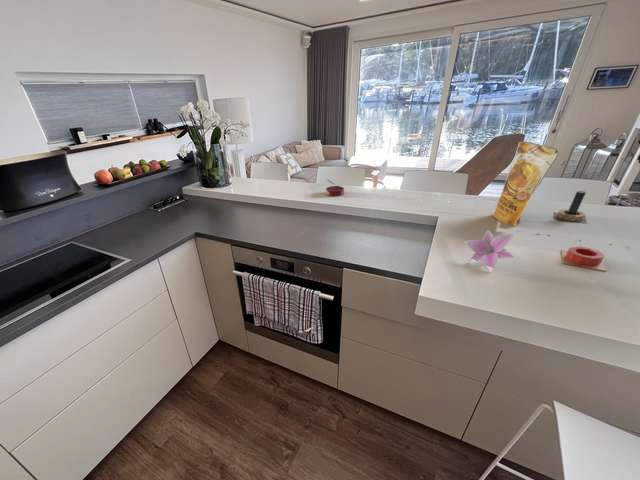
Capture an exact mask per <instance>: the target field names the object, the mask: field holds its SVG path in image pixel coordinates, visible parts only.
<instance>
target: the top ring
mask: <svg viewBox="0 0 640 480" xmlns="http://www.w3.org/2000/svg"><path fill="white" fill-rule="evenodd" d="M567 251H568V252H567V254H566V258H567V259H568V260H570V261H571V262H574V263H577V264H580V265H586V266H597V265H599V264H600V263H601V261H602V260H603V261H604V258H605V255H604V252H601V251H599V250H597V249H594V248H590V247H585V246H571V247H569V248H568V250H567Z"/></svg>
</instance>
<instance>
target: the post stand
mask: <svg viewBox="0 0 640 480" xmlns="http://www.w3.org/2000/svg"><path fill="white" fill-rule="evenodd" d="M586 193H587V192H586V191H584V190H577V191H576V192H575V195H574V196H573V199H572V201H571V203H570V206H569V208H568V209H569V210H568V212H567V214H571V215H576V213H577V211H579V209H580V207H581V204H582V202H583V200H584V198H585V196H586ZM557 214H558V212H556V211H554V212H553V220H554V221H559V222H567V223H574V224H584V225H588V221H587V218H586V216H585V217H584V219H583V220H582V221H566V220H563V219H560V218H558V217H557Z"/></svg>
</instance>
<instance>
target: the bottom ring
mask: <svg viewBox="0 0 640 480" xmlns="http://www.w3.org/2000/svg"><path fill="white" fill-rule="evenodd" d="M568 210H569V208H567V209H559V210H558V212H557V213H558V214H557V217H558V218H560V219H563V220H566V221H582V220H583V219H584V217H586V212H583V211H581V210H578V211H577V213H576V215H571V214H567V212H568ZM566 221H565V222H566Z"/></svg>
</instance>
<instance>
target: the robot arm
mask: <svg viewBox="0 0 640 480" xmlns="http://www.w3.org/2000/svg"><path fill="white" fill-rule="evenodd" d="M635 137H636V140H637V143H638V144H639V145H640V131H637V132H636V133H635ZM636 160H637V161H638V163H639V164H640V154H638V156H637V159H636Z"/></svg>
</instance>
